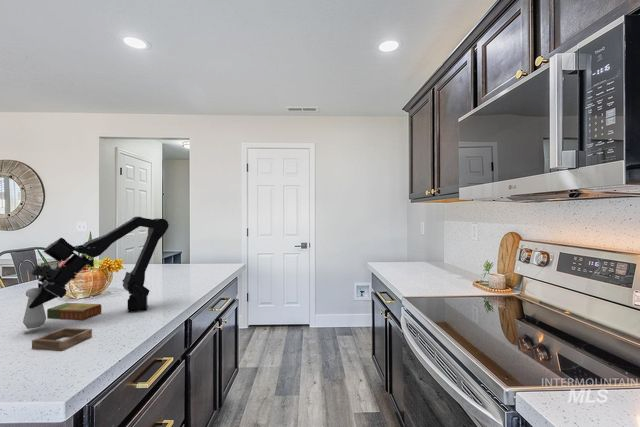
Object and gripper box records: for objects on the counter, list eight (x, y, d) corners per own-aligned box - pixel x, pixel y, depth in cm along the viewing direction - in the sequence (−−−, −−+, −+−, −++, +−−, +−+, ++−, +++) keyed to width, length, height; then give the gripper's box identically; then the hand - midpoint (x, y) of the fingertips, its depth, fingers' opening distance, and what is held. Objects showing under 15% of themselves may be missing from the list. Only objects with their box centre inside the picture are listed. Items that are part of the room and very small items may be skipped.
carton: (83, 321, 117) (83, 310, 117) (46, 319, 120) (46, 308, 119) (101, 314, 126) (101, 303, 125) (66, 312, 128) (66, 301, 128)
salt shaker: (18, 329, 104) (17, 290, 104) (36, 323, 110) (35, 286, 110) (33, 330, 104) (32, 290, 104) (50, 323, 109) (50, 286, 109)
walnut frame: (64, 335, 103) (64, 327, 103) (91, 337, 102) (91, 329, 102) (31, 348, 93) (31, 340, 93) (62, 350, 92) (62, 342, 92)
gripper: (45, 253, 116) (3, 288, 108) (53, 258, 103) (6, 298, 95) (72, 271, 122) (34, 306, 114) (83, 278, 109) (41, 317, 101)
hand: (29, 306), depth 106 cm, fingers closed on salt shaker, 3 cm apart
